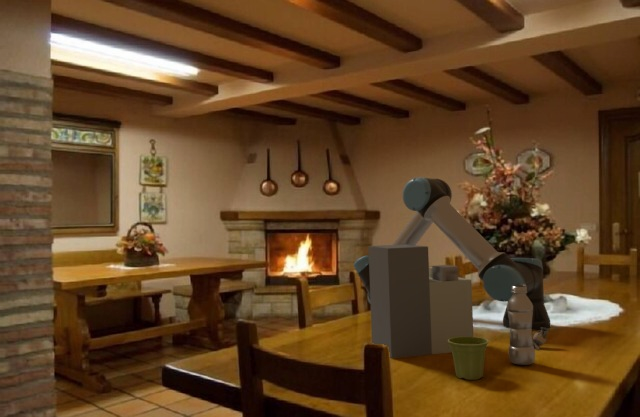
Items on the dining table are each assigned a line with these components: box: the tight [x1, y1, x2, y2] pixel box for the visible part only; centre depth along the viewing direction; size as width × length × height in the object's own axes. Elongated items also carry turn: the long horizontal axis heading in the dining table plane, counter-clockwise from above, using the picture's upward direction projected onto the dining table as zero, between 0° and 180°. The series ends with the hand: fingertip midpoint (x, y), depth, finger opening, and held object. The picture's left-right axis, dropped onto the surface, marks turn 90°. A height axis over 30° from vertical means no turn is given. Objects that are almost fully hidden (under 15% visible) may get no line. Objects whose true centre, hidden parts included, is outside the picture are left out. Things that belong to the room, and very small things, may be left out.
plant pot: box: [448, 336, 489, 381], centre depth 130 cm, size 9×9×9 cm
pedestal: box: [368, 244, 474, 359], centre depth 160 cm, size 16×25×30 cm, turn 104°
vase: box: [532, 327, 550, 351], centre depth 156 cm, size 5×5×6 cm
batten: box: [429, 264, 459, 282], centre depth 168 cm, size 28×5×4 cm, turn 14°
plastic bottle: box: [506, 285, 536, 366], centre depth 140 cm, size 6×7×20 cm
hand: (406, 257), depth 184 cm, fingers open, 13 cm apart
